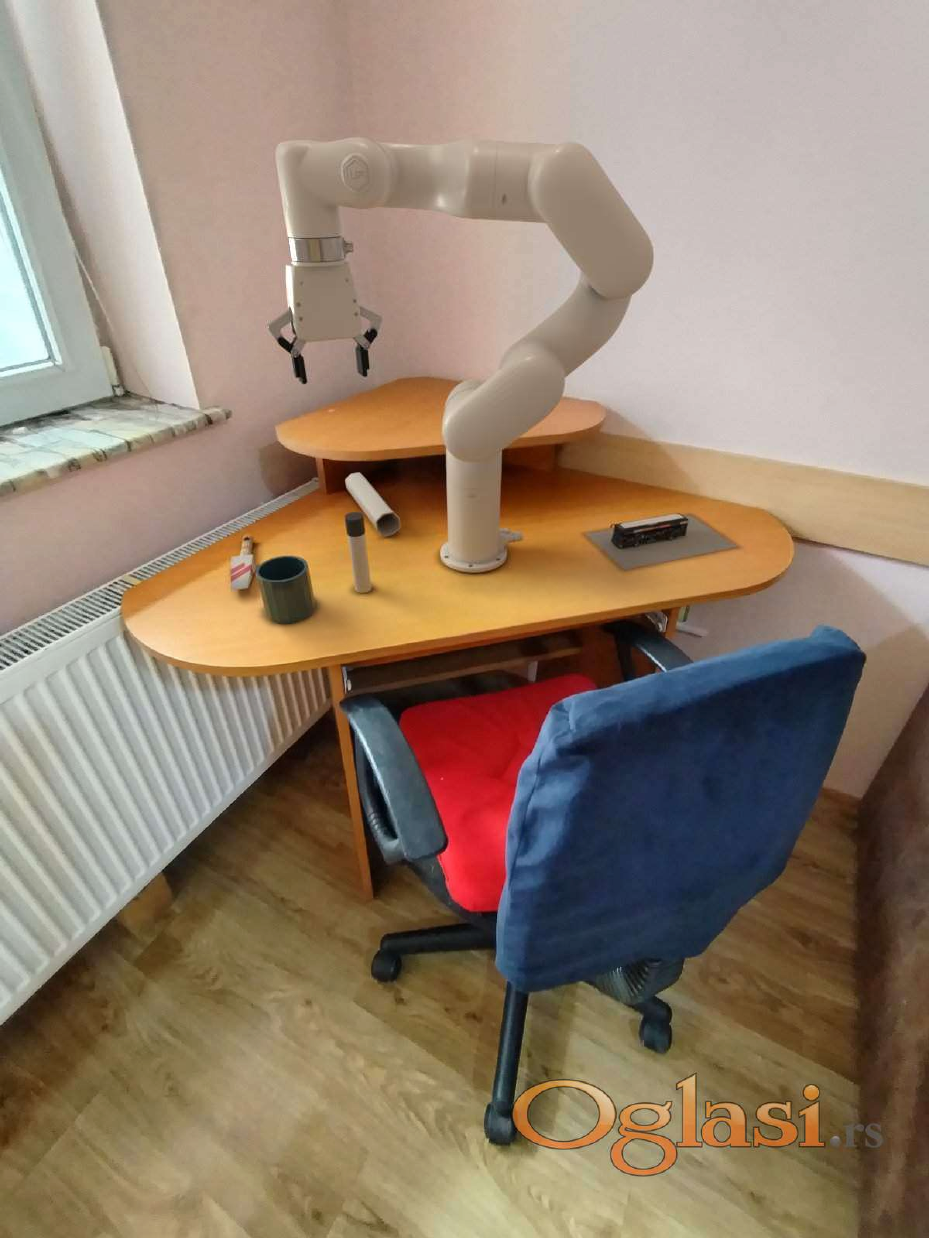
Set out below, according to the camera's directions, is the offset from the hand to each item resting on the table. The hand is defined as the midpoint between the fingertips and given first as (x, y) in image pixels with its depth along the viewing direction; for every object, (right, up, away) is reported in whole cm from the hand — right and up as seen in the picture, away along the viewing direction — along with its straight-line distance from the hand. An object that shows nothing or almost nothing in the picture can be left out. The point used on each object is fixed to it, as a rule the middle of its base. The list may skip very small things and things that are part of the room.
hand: (333, 378), depth 94 cm
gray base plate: (+59, -23, +23) cm, 68 cm away
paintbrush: (-20, -29, +16) cm, 38 cm away
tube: (0, -15, +35) cm, 38 cm away
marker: (+3, -33, +10) cm, 34 cm away
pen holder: (-8, -37, +5) cm, 38 cm away
